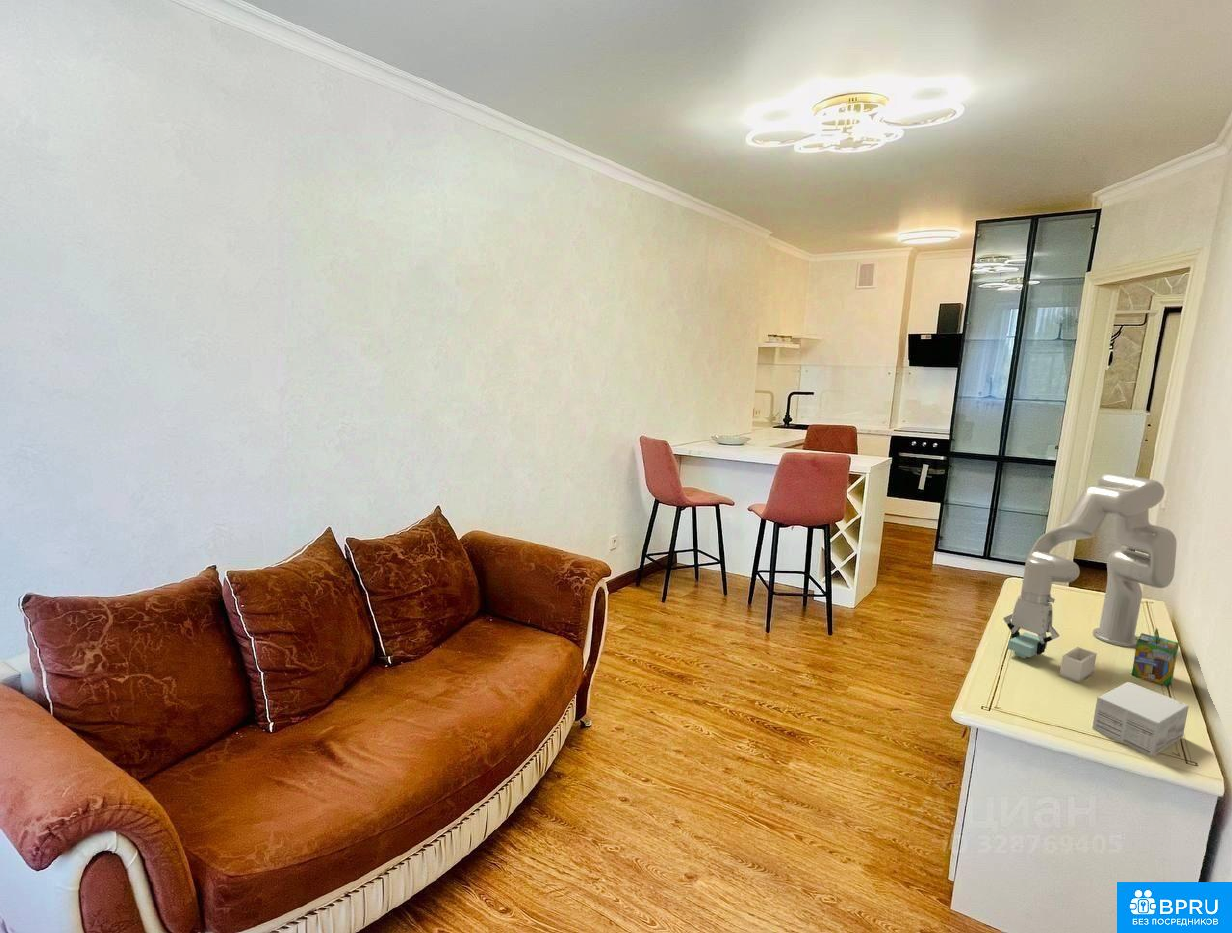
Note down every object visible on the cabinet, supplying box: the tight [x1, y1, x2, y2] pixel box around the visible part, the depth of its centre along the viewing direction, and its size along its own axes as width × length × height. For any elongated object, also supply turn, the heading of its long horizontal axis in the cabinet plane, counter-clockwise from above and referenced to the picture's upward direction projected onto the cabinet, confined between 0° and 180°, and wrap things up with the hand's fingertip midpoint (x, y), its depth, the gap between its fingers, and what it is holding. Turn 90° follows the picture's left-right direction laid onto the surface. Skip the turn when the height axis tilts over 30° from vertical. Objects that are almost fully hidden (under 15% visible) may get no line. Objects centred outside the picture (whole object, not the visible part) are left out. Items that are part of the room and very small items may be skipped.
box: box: [1058, 646, 1097, 684], centre depth 187 cm, size 11×5×6 cm, turn 124°
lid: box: [1007, 631, 1048, 659], centre depth 198 cm, size 12×6×4 cm, turn 124°
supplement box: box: [1091, 681, 1190, 757], centre depth 157 cm, size 17×13×9 cm
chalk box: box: [1131, 627, 1180, 687], centre depth 186 cm, size 9×9×15 cm
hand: (1027, 648), depth 198 cm, fingers closed on lid, 6 cm apart
